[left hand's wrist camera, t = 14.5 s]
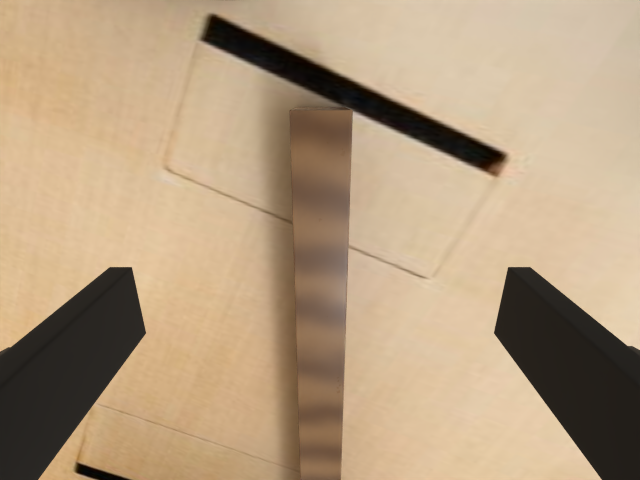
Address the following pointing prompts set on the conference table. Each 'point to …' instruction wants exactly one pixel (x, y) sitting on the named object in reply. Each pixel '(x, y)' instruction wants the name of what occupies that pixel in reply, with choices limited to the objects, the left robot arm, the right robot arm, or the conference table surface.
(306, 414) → the bar
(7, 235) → the conference table surface
